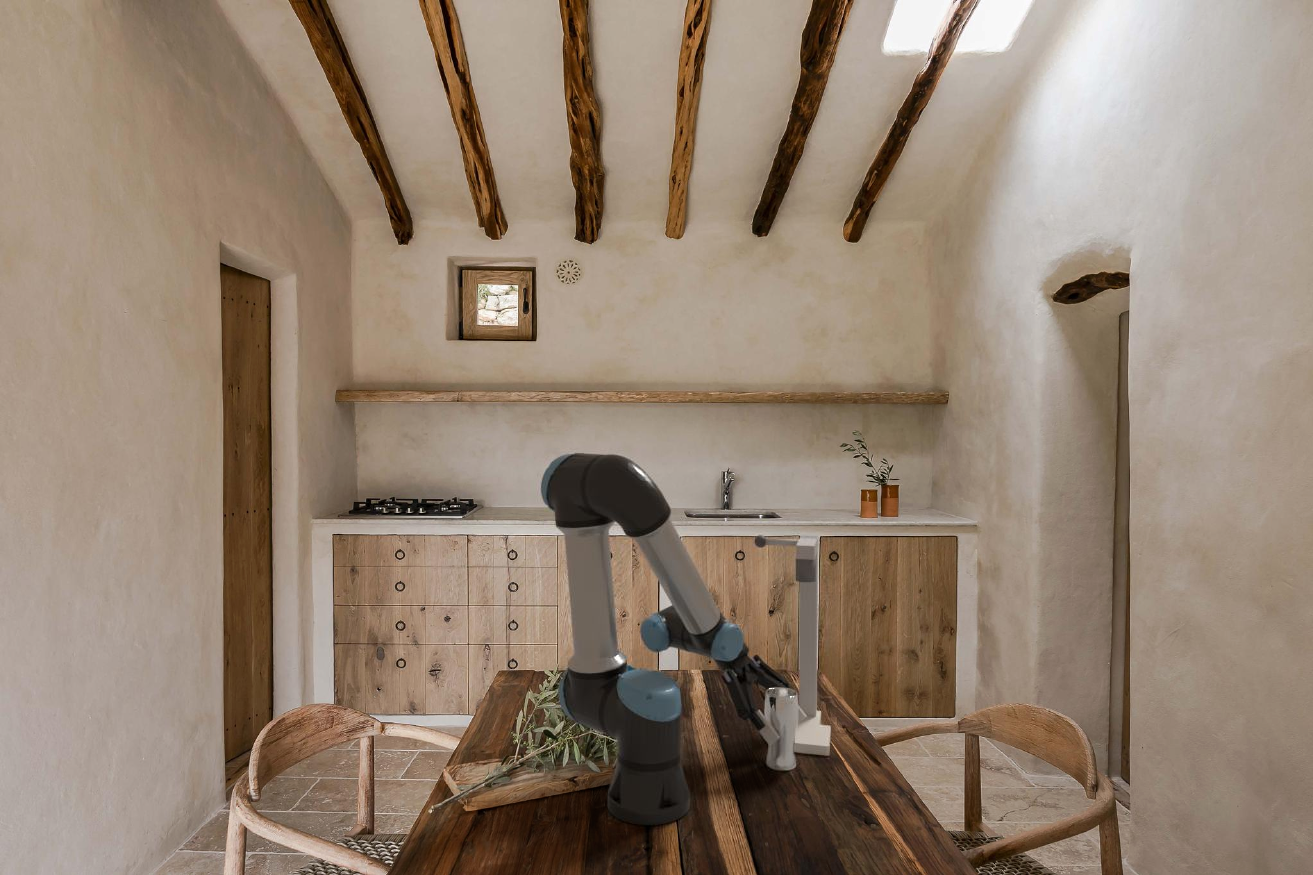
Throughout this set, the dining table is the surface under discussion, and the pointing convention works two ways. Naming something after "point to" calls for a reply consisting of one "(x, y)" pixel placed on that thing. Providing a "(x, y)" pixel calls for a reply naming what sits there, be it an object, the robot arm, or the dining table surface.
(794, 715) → the beer glass
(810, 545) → the stand
